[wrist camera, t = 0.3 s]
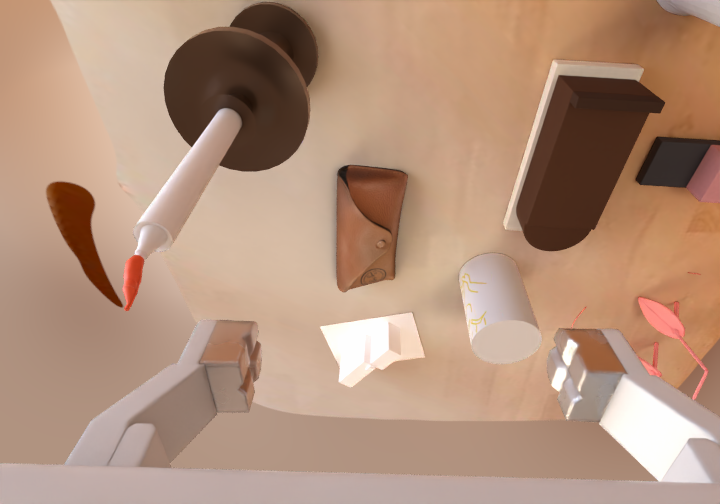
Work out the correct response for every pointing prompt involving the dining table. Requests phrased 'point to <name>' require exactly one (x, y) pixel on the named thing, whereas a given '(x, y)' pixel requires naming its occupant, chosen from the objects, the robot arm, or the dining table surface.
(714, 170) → the two-tone stepped block
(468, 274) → the cup
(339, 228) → the sunglasses case
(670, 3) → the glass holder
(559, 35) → the dining table surface
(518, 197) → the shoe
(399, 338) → the napkin holder
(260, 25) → the candlestick
